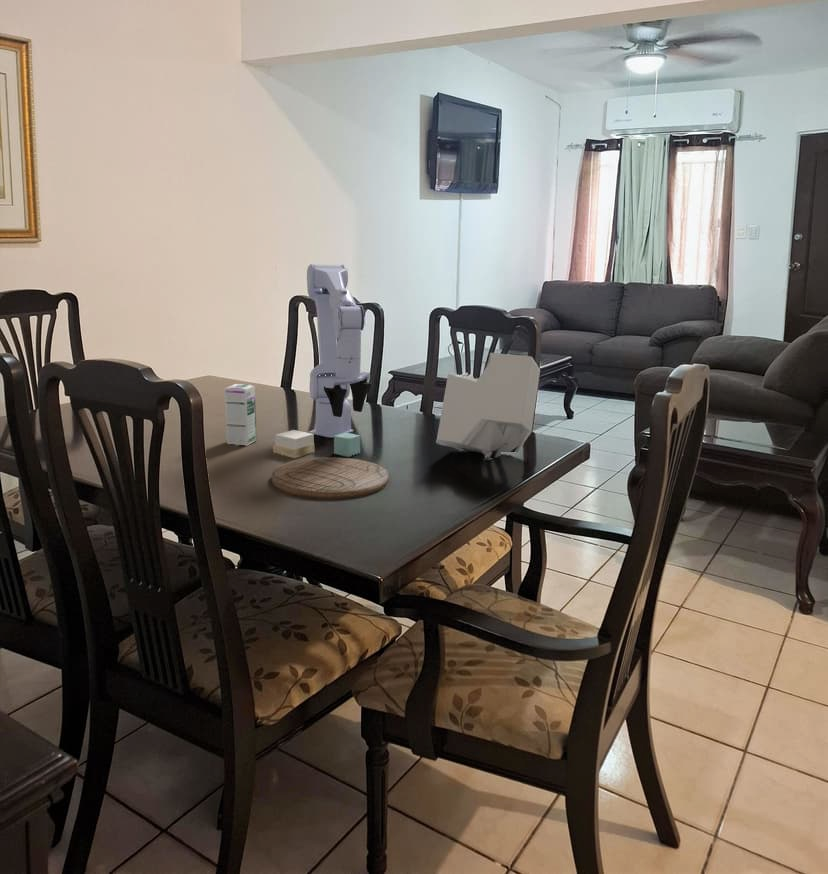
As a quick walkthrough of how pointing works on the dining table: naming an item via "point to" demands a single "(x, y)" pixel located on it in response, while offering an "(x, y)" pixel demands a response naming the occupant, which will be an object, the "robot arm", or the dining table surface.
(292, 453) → the tower base
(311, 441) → the tower top
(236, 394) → the syrup box
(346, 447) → the teal cube
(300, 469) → the trivet
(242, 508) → the dining table surface
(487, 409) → the grey stepped panel block
